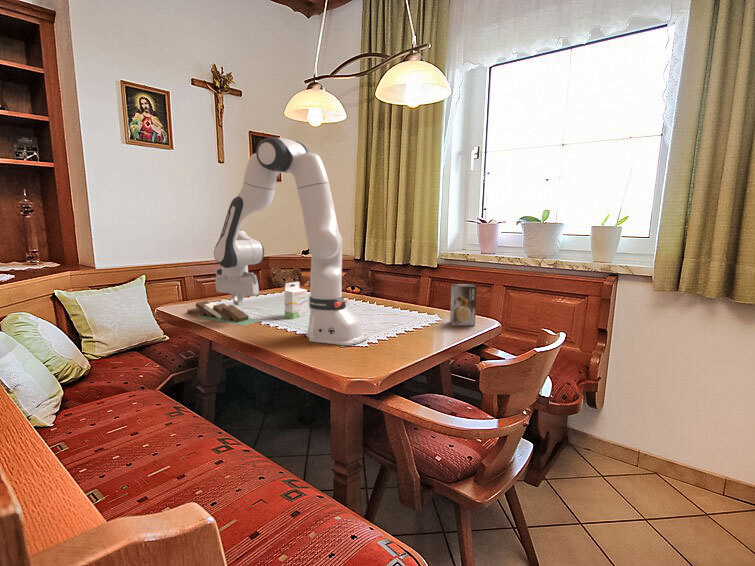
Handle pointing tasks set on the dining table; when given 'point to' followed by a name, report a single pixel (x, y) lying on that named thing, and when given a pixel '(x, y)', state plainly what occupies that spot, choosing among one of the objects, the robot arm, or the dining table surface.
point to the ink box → (295, 301)
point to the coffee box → (463, 304)
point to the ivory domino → (210, 309)
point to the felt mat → (246, 322)
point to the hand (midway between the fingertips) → (237, 304)
